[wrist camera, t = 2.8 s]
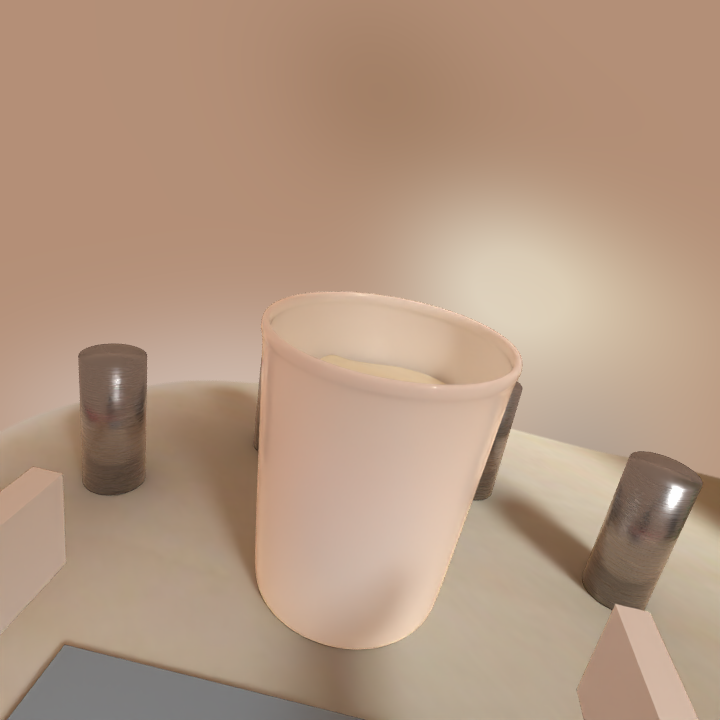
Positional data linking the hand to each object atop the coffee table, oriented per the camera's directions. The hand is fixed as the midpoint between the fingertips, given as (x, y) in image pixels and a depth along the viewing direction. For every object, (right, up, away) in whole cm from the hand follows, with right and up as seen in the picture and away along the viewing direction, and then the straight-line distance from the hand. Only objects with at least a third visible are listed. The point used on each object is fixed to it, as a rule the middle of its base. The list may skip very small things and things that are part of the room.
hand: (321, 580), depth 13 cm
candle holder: (0, -5, +12) cm, 13 cm away
